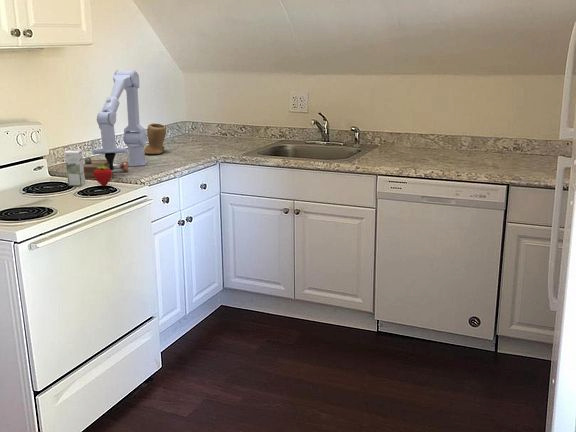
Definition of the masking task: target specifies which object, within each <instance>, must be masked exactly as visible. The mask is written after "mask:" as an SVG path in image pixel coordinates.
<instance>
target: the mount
mask: <svg viewBox="0 0 576 432" xmlns="http://www.w3.org/2000/svg"><path fill="white" fill-rule="evenodd" d="M91 162H92V164H85V163H83V167H84V176H85V180H86V179H87V180H88V179H95V178H94V175H93V172H94V171H95V170H97V169H99V168H97V167H102V166H103V165H104V166H107V164H109V163H108V161H107V159H91ZM102 162H103V163H102Z"/></svg>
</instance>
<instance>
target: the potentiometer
mask: <svg viewBox="0 0 576 432" xmlns="http://www.w3.org/2000/svg"><path fill="white" fill-rule="evenodd" d="M91 160H92V159H91V157H90V155H89V154H88V155H87V154H86V155H85V158H84V164H92V162H91Z"/></svg>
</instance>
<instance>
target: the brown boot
mask: <svg viewBox="0 0 576 432" xmlns="http://www.w3.org/2000/svg"><path fill="white" fill-rule="evenodd" d="M166 134H167V126H166V125H164V124H161V123H155V122H153V123H149V124H148V125H147V130H146V135H147V141H148V145H147V146H146V147H144V153H145V154H148V155H157V154H158V155H159V154H162V153H163V152H164V151H165V149H166V147H165V146H164V141H165V138H166Z"/></svg>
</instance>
